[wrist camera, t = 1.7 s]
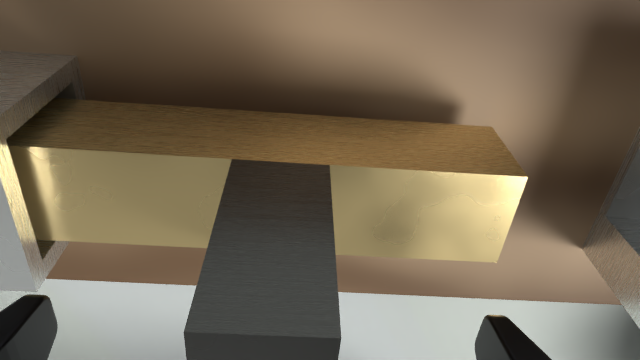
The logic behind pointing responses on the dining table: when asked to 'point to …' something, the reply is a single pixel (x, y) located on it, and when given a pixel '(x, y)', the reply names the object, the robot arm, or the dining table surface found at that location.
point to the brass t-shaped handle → (265, 205)
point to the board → (380, 108)
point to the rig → (65, 82)
